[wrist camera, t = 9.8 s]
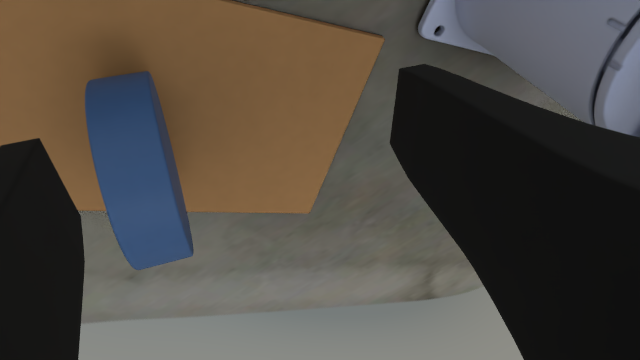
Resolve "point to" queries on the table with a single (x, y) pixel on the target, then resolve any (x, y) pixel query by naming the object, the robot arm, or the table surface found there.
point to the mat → (189, 92)
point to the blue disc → (137, 169)
